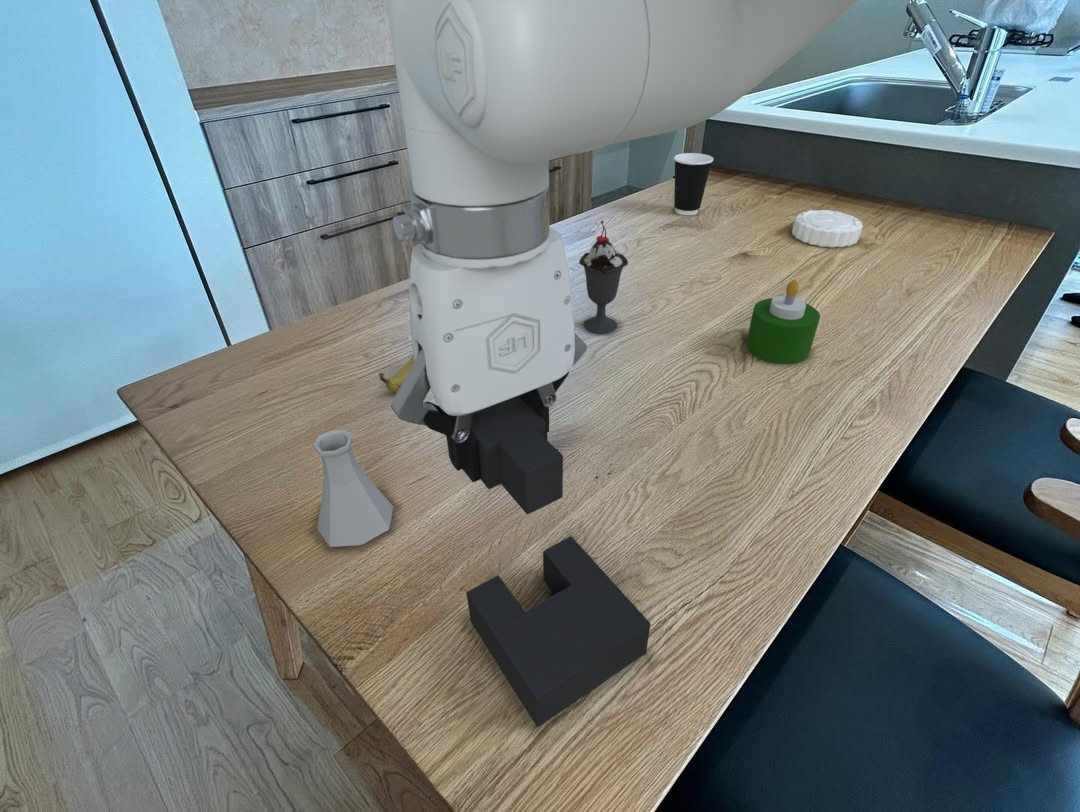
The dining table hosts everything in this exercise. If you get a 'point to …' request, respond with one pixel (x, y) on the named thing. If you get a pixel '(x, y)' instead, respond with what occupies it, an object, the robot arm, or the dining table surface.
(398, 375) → the banana
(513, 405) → the pad
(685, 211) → the dixie cup
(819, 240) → the mooncake
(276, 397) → the dining table surface
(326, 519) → the flask
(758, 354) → the candle
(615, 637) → the notch pad
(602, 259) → the sundae
